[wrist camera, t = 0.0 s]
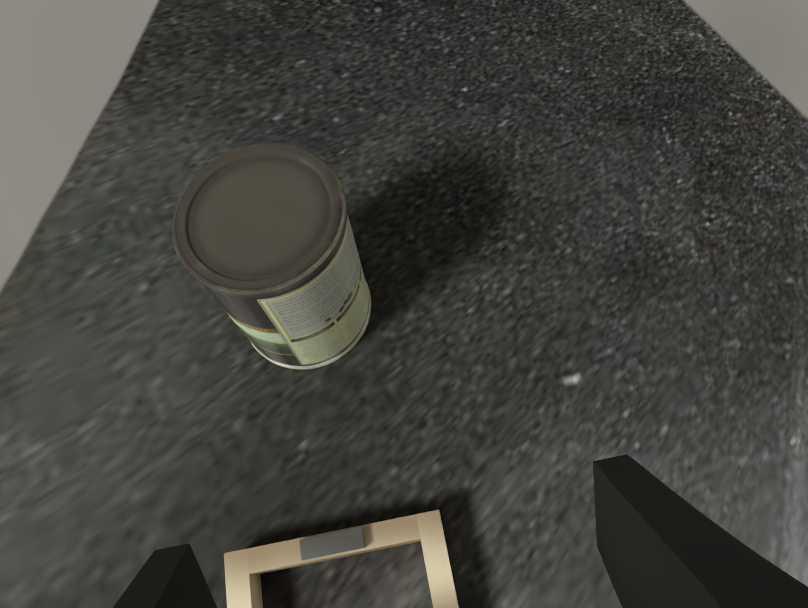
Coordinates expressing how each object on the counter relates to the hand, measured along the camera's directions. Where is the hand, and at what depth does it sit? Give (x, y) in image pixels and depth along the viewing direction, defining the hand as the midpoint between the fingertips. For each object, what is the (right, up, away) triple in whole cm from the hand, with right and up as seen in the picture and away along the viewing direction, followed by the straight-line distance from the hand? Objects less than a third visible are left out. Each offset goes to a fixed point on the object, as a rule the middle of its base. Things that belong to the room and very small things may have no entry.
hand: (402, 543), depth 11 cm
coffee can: (-8, +4, +38) cm, 39 cm away
